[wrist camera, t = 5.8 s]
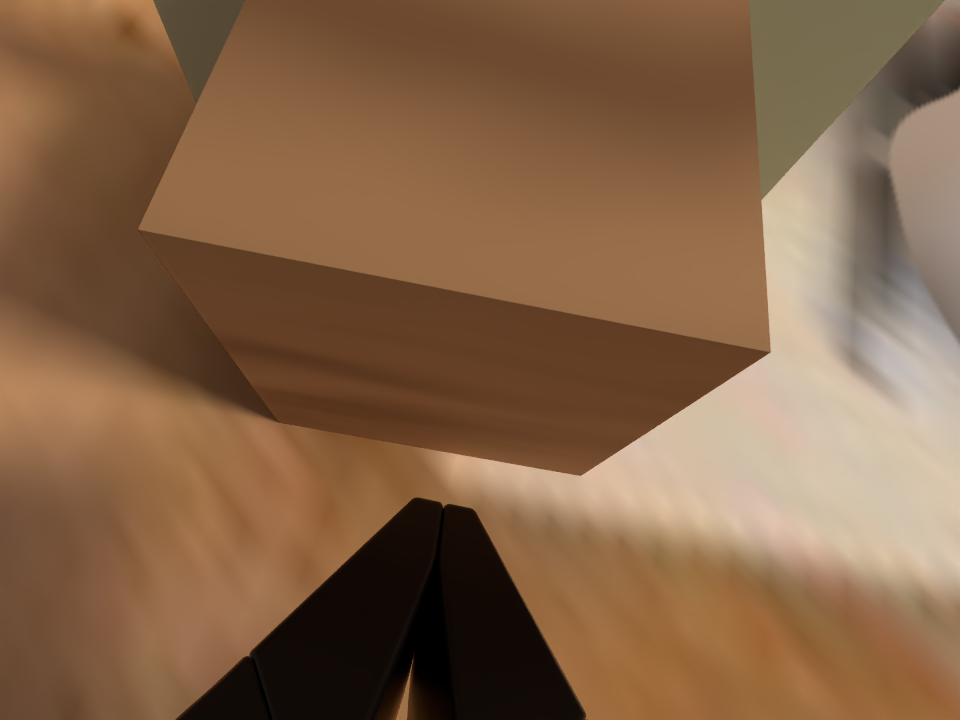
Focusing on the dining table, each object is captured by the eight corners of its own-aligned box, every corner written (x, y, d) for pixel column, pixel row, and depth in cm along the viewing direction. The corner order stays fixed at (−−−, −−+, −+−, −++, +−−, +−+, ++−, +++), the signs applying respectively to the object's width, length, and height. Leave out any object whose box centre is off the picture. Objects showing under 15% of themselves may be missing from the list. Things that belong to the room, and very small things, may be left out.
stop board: (714, 251, 18) (1027, -91, 9) (216, 149, 17) (7, -345, 8) (713, 202, 19) (1000, -158, 10) (236, 102, 18) (67, -399, 9)
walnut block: (580, 476, 15) (770, 352, 7) (279, 423, 15) (137, 229, 7) (598, 230, 18) (746, -40, 10) (351, 180, 18) (312, -143, 10)
